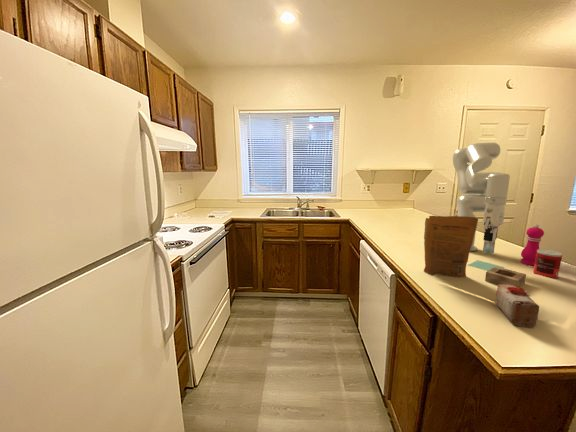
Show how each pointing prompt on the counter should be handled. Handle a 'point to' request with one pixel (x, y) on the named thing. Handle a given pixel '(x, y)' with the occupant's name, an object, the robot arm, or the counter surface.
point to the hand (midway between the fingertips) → (489, 239)
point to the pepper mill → (532, 245)
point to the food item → (517, 305)
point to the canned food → (547, 263)
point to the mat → (483, 265)
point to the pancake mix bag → (448, 244)
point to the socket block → (505, 277)
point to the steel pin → (490, 243)
